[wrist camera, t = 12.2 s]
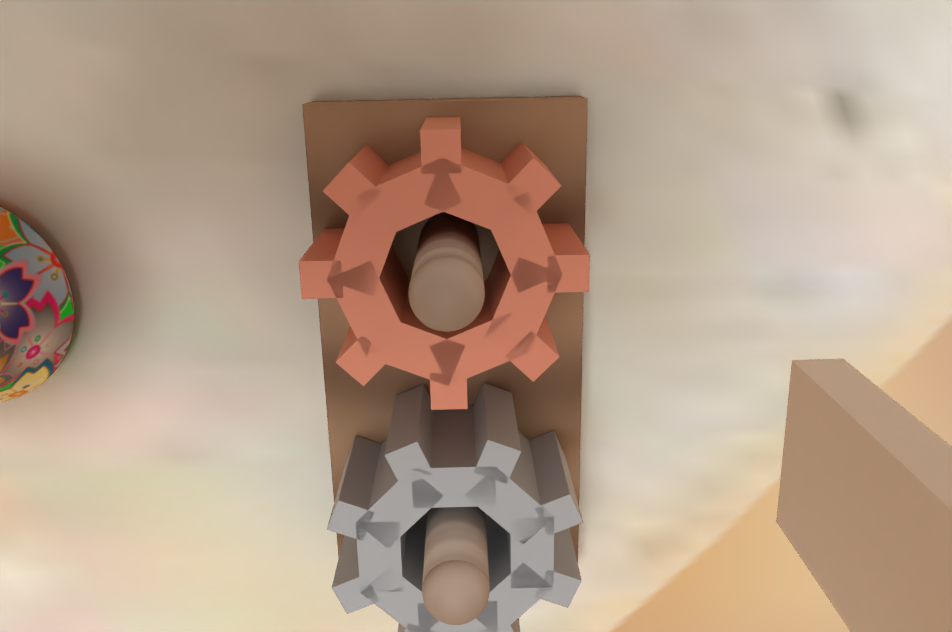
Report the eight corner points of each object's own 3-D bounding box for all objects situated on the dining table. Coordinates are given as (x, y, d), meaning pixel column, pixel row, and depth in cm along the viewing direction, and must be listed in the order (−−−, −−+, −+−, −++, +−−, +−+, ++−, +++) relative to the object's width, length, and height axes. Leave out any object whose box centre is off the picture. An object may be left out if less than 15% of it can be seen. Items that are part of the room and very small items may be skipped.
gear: (340, 386, 32) (319, 444, 27) (566, 380, 32) (584, 437, 28) (354, 580, 35) (338, 663, 30) (563, 574, 35) (579, 656, 30)
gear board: (312, 101, 31) (245, 123, 21) (579, 95, 31) (633, 115, 21) (347, 563, 37) (308, 743, 27) (571, 557, 37) (610, 733, 27)
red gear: (286, 181, 30) (253, 205, 25) (510, 79, 29) (520, 84, 24) (390, 387, 32) (379, 445, 28) (600, 299, 31) (625, 343, 27)
